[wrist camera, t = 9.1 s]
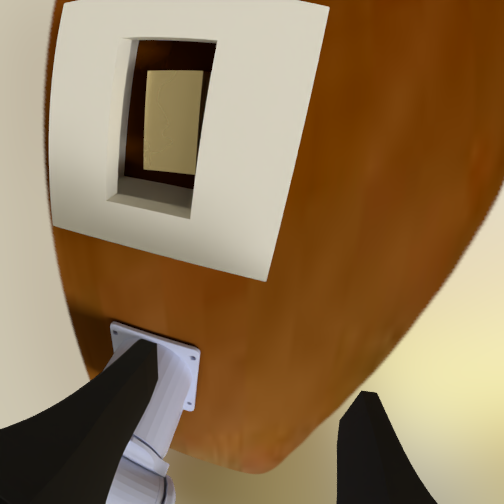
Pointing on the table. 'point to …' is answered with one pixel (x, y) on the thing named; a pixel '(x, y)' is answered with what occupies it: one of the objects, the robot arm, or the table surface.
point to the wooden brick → (174, 119)
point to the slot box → (212, 136)
